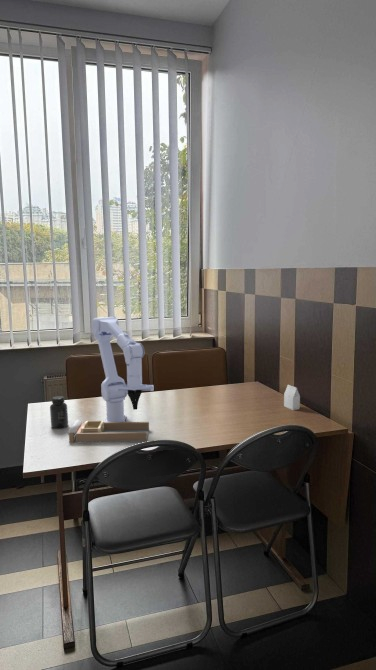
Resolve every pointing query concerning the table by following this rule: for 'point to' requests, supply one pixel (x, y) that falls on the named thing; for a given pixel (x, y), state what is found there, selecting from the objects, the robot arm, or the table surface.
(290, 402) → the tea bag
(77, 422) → the bay
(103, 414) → the table surface
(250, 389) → the table surface
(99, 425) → the crate
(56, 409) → the supplement bottle
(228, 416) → the table surface
